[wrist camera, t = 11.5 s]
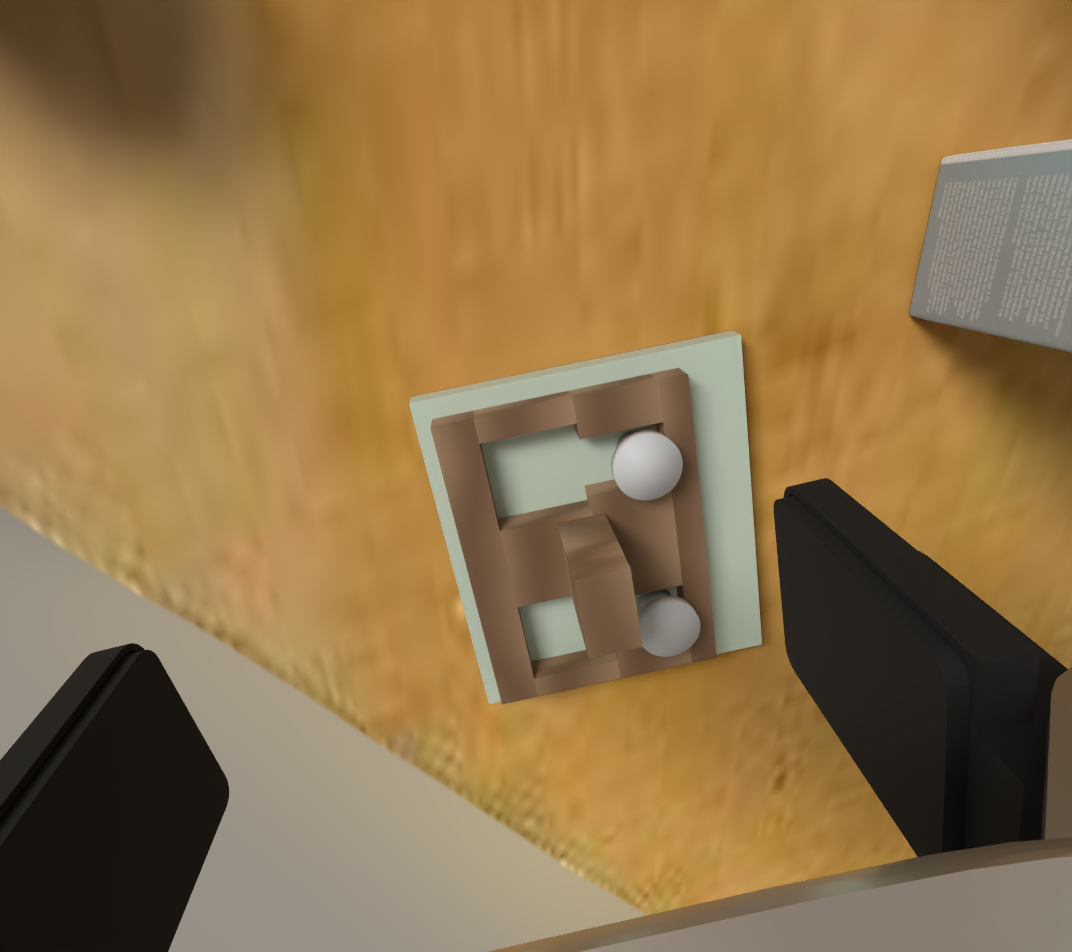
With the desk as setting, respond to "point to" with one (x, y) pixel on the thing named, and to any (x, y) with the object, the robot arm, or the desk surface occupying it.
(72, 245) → the desk surface
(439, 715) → the desk surface
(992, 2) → the desk surface
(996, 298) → the hard drive box
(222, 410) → the desk surface
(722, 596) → the board
